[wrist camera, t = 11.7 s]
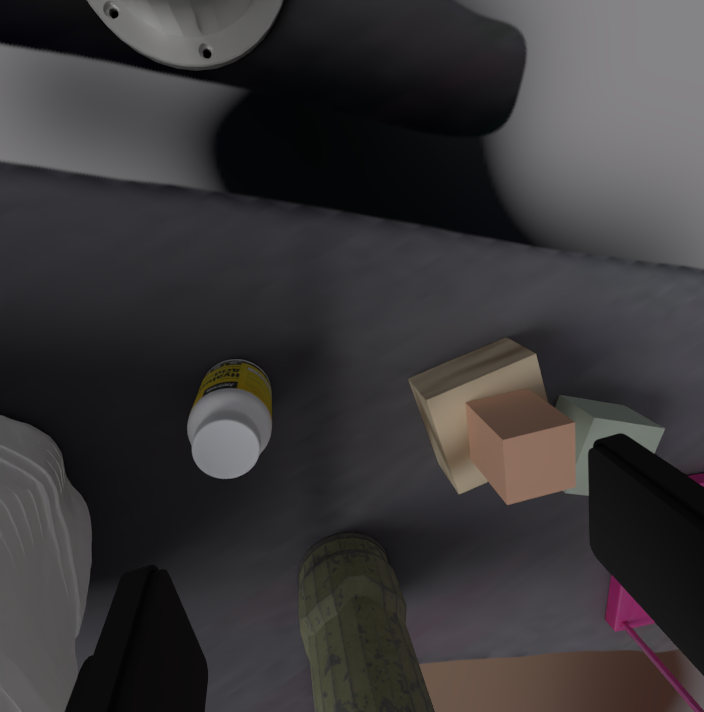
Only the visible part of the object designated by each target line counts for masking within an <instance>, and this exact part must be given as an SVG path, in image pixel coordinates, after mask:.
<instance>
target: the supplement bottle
mask: <svg viewBox="0 0 704 712" xmlns="http://www.w3.org/2000/svg"><path fill="white" fill-rule="evenodd" d="M271 431H272V390H271V384H270V381H269V379H268V377H267V375H266V374H265V372H264V371H263V370H262V369H261V368H260V367H258V366H257V365H255V364H254V363H252V362H249V361H246V360H241V359H231V360H226V361H223V362H221V363H219V364H217V365H215V366H214V367H213V368H211V369H210V370H209V371H208V373H207V374H206V375H205V377H204V379H203V381H202V383H201V386H200V389H199V391H198V394H197V397H196V399H195V402H194V404H193V407H192V410H191V412H190V415H189V419H188V424H187V432H188V438H189V441H190V443H191V445H192V456H193V459H194V461H195V463H196V465H197V466H198V467H199V468H200V469H201V470H202V471H203V472H204V473H206V474H208V475H210V476H212V477H215V478H220V479H231V478H236V477H239V476H241V475H243V474H245V473H247V472H248V471H249V470H250V469H252V467H253V466H254V465H255V463H256V462H257V460H258V458H259V455H260V454H261V453H262V451H263V450H264V449H265V448H266V446H267V444H268V442H269V440H270V437H271Z"/></svg>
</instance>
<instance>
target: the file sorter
mask: <svg viewBox="0 0 704 712" xmlns="http://www.w3.org/2000/svg"><path fill="white" fill-rule="evenodd" d="M688 477H690V478H691V479H693V480H694V481H696V482H697V483H699V484H700V485H702V486H703V487H704V473H701V474H695V475H689V476H688ZM605 620H606V621H607V622H608V624H609V625H610V626H611V627H612V628H613V630H614V631H621V630H626V632H627V633H628V634H629V635H630V636H631V637H632V638H633V640H634V641H635V642H636V643H637V644H638V646H639V647H640V648H641V649H642V650H643V651H644V653H645V654H646V655H647V656H648V657H649V658H650V660H651V661H652V662H653V663H654V664H655V666H656V667H657V668H658V669H659V670H660V672H661V673H662V674H663V675H664V676H665V677H666V678H667V680H668V681H669V682H670V683H671V684H672V685H673V687H674V688H675V689H676V690H677V691H678V693H679V694H680V695H681V696H682V697H683V699H684V700H685V701H686V702H687V703H688V704H689V706H690V707H691V708H692V709H693V710H694V711H695V712H704V710H703V709H702V708H701V707H700V706H699V705H698V704H697V703H696V701H695V700H694V699H693V698H692V697H691V695H690V694H689V693H688V692H687V691H686V690H685V688H683V686H682V685H681V684H680V683H679V681H678V680H677V679H676V678H675V677H674V676H673V675H672V673H671V672H670V671H669V670H668V669H667V668H666V667H665V665H664V664H663V663H662V662H661V661H660V659H659V658H658V657H657V656H656V655H655V654H654V653H653V651H652V650H651V649H650V648H649V647H648V646H647V645H646V644H645V643H644V641H643V640H642V639H641V638H640V637H639V636H638V635H637V633H636V632H635V631H634V630H633V629H632V628H635V627H639V626H644V625H648V624H653V623H655V622H654V621H653V620H652V619H651V617H650V616H649V615H648V614H647V613H646V612H645V611H644V610H643V609H642V608H641V606H640V605H639V604H638V603H637V602H636V601H635V600H634V599H633V598H632V597H631V595H630V594H629V593H628V592H627V591H626V590H625V589H624V588H623V587H622V586H621V584H620V583H619V582H618V581H617V580H616V579H615V578H614V577H613V576H612V575H611V581H610V588H609V595H608V602H607V608H606V615H605Z"/></svg>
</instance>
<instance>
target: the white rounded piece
mask: <svg viewBox="0 0 704 712" xmlns="http://www.w3.org/2000/svg"><path fill="white" fill-rule="evenodd" d="M91 545H92V529H91V519H90V514H89V511H88V507H87V504H86V502H85V500H84V499H83V497H82V496H81V494H80V493H79V492H78V491H77V490H76V489H75V488H74V487H73V486H72V485H71V483H70V481H69V480H68V478H67V476H66V473H65V468H64V462H63V457H62V453H61V451H60V449H59V448H58V446H57V444H56V443H55V442H54V440H53V439H52V438H51V437H50V436H49V435H47V434H45V433H44V432H42V431H40V430H39V429H37V428H35V427H33V426H32V425H30V424H27V423H23V422H20V421H16V420H13V419H10V418H8V417H5V416H3V415H0V712H65V709H66V706H67V704H68V701H69V698H70V696H71V693H72V690H73V688H74V685H75V682H76V680H77V675H78V670H77V661H76V656H75V638H76V637H77V636H78V634H79V631H80V626H81V622H82V619H83V615H84V612H85V608H86V597H87V593H88V585H89V582H90V569H91V565H92V549H91Z"/></svg>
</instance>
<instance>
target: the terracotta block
mask: <svg viewBox="0 0 704 712" xmlns="http://www.w3.org/2000/svg"><path fill="white" fill-rule="evenodd" d="M465 404H466V414H467V425H468V435H469V446H470V456H471V461H472V462H473V463H474V464H475V466H476V467H477V468H478V469H479V471H480V472H481V473H482V474H483V476H484V477H485V478H486V479H487V481H488V482H489V483H490V484H491V486H492V487H493V488H494V489H495V491H496V492H497V493H498V494H499V496H500V497H501V498H502V499H503V501H504V502H505V503H506V504H507V505H509V504H513V503H517V502H521V501H525V500H528V499H532V498H536V497H540V496H544V495H547V494H551V493H555V492H559V491H563V490H567V489H570V488H574V487H576V458H575V422H574V421H573V420H571V419H570V418H568V417H567V416H566V415H564V414H563V413H561V412H560V411H559V410H557V409H556V408H554V407H553V406H552V405H550V404H549V403H547V402H546V401H545V400H543V399H542V398H540V397H539V396H538V395H536V394H535V393H533V392H532V391H531V390H529V389H528V388H526V389H522V390H517V391H513V392H509V393H505V394H500V395H496V396H492V397H487V398H483V399H479V400H475V401H470V402H466V403H465Z"/></svg>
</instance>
